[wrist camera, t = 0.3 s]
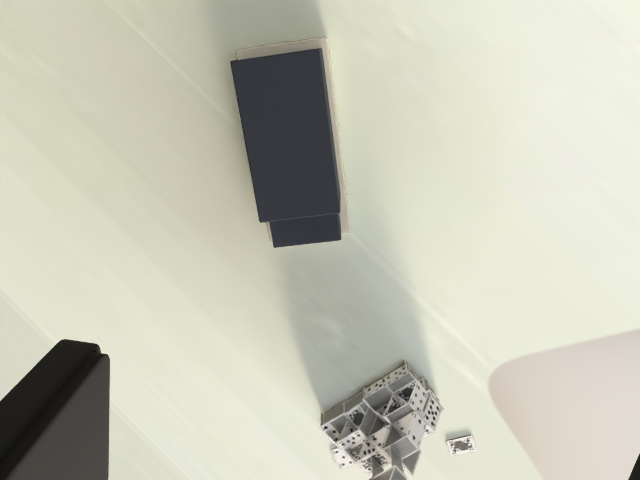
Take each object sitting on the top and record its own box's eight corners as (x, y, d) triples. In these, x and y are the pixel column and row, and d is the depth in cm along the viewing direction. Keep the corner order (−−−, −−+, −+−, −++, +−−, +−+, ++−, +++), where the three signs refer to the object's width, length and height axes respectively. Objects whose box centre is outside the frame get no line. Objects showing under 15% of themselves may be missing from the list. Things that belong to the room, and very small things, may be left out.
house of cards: (373, 504, 38) (380, 612, 30) (298, 424, 36) (287, 520, 28) (481, 446, 36) (517, 547, 28) (409, 356, 33) (427, 442, 26)
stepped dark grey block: (240, 49, 27) (221, 50, 23) (327, 36, 27) (324, 34, 23) (272, 235, 31) (261, 266, 27) (350, 226, 30) (352, 256, 26)
